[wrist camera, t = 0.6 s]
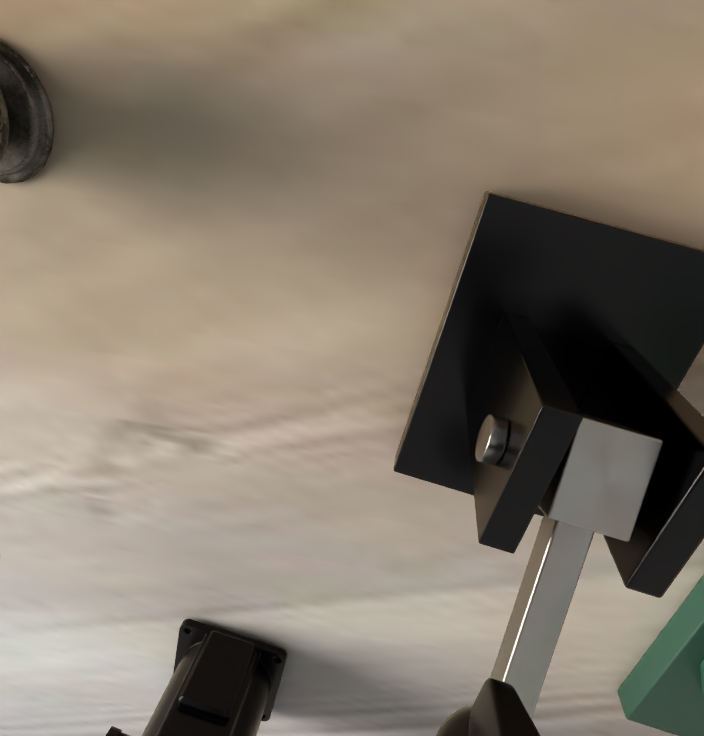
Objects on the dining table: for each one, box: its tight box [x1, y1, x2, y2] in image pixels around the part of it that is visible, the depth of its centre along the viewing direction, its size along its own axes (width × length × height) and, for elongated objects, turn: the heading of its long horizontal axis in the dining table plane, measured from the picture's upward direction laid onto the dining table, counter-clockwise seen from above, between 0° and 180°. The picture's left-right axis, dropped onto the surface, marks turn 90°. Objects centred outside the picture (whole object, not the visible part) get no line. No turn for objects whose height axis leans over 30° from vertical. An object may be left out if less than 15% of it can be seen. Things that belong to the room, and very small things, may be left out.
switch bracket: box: [394, 191, 704, 598], centre depth 16 cm, size 12×9×9 cm
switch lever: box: [436, 413, 663, 736], centre depth 15 cm, size 12×3×3 cm, turn 167°
